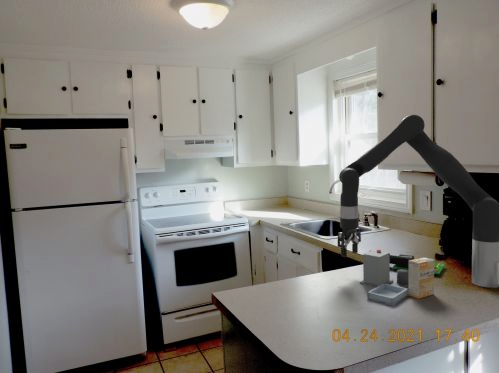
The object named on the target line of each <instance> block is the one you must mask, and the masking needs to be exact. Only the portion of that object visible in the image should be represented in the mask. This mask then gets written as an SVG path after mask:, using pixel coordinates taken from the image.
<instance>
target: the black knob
mask: <svg viewBox="0 0 499 373" xmlns="http://www.w3.org/2000/svg"><path fill="white" fill-rule="evenodd" d="M408 282H409V271H408V270H403V269H400V270H397V269H396V284H397V285H399V286H408V285H409V284H408Z"/></svg>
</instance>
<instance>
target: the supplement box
mask: <svg viewBox="0 0 499 373" xmlns="http://www.w3.org/2000/svg"><path fill="white" fill-rule="evenodd" d="M434 263H435V259H432V258H428V257H419V258H414V260H409V282H408V284H409V285H407V286H408V288H407V289H408V296H410V297H413V298H415V299H418V300H420V299H422V298H426V297H429V296H434V295H435V293H434V292H435V290H434V289H435V274H434Z"/></svg>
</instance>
